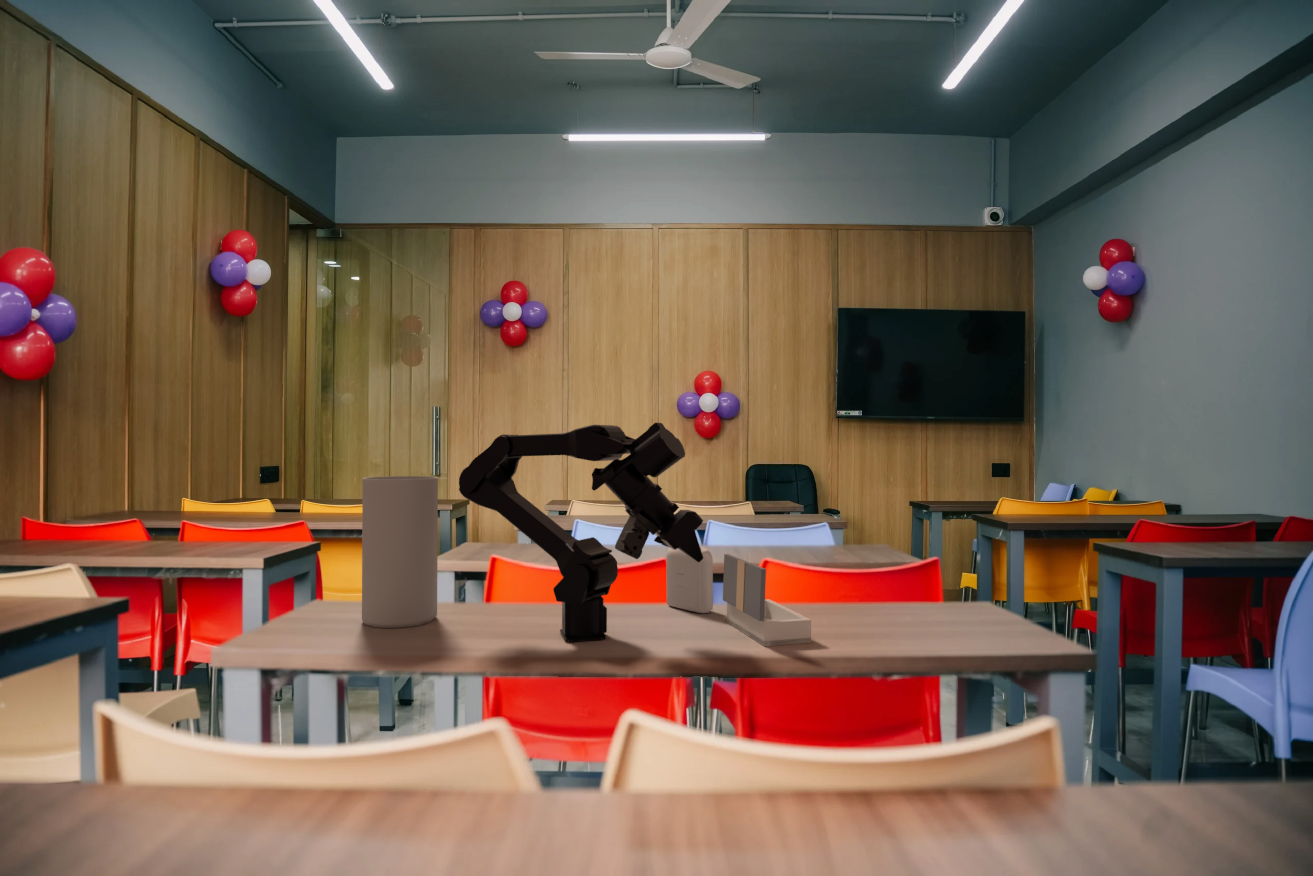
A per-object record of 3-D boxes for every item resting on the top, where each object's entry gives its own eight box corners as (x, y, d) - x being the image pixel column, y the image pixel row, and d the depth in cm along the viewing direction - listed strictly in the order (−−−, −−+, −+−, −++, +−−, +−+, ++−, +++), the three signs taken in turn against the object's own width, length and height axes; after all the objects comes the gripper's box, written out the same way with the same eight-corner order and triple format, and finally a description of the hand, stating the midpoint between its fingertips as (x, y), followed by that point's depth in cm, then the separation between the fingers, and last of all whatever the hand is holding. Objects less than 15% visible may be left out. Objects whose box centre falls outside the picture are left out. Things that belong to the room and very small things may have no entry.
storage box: (764, 646, 117) (764, 623, 117) (726, 622, 133) (726, 601, 133) (811, 642, 119) (811, 619, 119) (769, 619, 135) (769, 599, 135)
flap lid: (764, 621, 117) (758, 621, 117) (726, 600, 133) (722, 600, 132) (766, 569, 117) (760, 569, 117) (728, 554, 133) (723, 554, 133)
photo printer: (663, 605, 146) (663, 541, 146) (679, 602, 149) (680, 539, 149) (699, 615, 138) (699, 547, 138) (716, 612, 141) (716, 545, 141)
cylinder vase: (390, 610, 141) (391, 475, 141) (450, 614, 138) (451, 476, 138) (346, 626, 129) (346, 478, 129) (410, 631, 126) (411, 480, 126)
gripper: (588, 521, 127) (649, 585, 130) (614, 535, 109) (685, 609, 113) (634, 475, 130) (694, 539, 133) (668, 481, 112) (735, 555, 115)
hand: (700, 560), depth 123 cm, fingers closed
